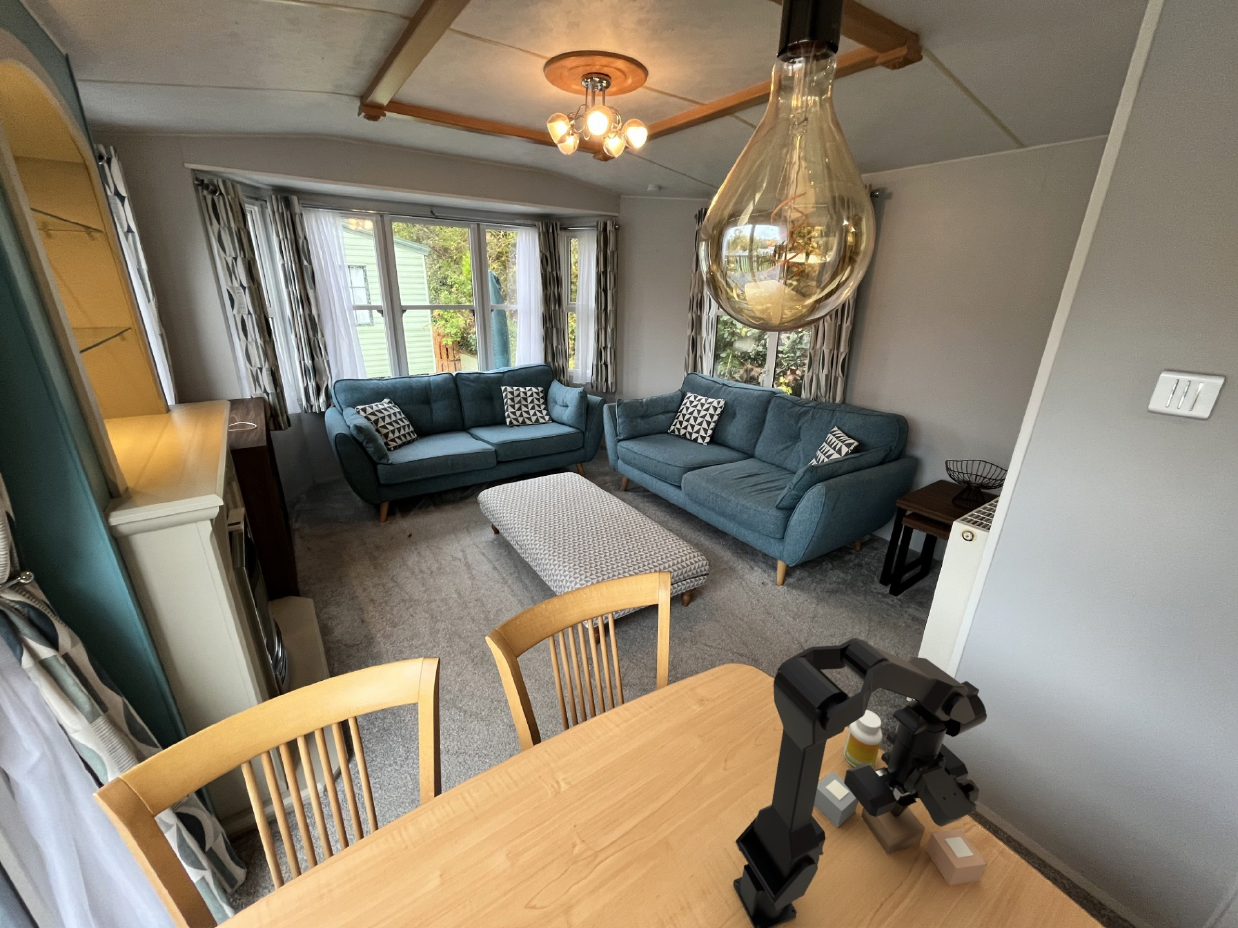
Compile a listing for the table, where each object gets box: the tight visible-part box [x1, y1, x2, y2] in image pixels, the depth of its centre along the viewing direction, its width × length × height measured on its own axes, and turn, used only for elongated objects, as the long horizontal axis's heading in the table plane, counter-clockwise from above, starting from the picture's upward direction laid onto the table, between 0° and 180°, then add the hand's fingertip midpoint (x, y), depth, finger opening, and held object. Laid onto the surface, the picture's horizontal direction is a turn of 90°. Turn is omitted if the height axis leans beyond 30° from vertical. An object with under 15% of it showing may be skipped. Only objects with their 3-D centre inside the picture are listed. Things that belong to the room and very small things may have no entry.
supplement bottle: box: [843, 709, 883, 769], centre depth 92 cm, size 5×5×10 cm
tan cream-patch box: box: [925, 828, 988, 886], centre depth 76 cm, size 5×5×4 cm
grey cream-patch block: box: [814, 771, 859, 828], centre depth 84 cm, size 5×5×4 cm
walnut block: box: [860, 806, 926, 855], centre depth 81 cm, size 6×6×4 cm
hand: (894, 813), depth 80 cm, fingers closed
